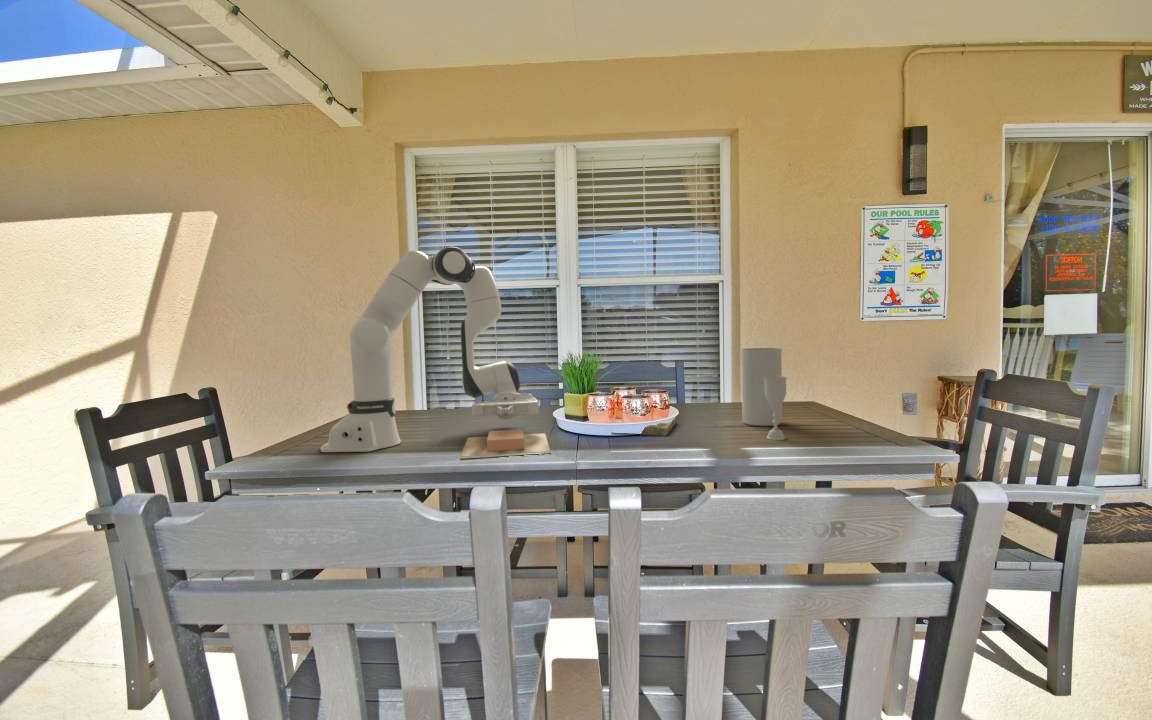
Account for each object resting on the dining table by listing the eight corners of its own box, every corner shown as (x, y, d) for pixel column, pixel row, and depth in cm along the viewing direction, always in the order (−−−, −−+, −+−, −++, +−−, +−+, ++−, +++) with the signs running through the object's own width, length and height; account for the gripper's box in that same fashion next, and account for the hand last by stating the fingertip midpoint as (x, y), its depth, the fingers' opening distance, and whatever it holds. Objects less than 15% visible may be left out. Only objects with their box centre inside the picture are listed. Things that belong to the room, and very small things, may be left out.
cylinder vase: (738, 420, 177) (737, 348, 175) (775, 419, 176) (775, 347, 174) (747, 427, 165) (746, 350, 163) (787, 426, 163) (786, 349, 162)
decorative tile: (676, 424, 175) (675, 414, 175) (667, 437, 156) (666, 425, 156) (623, 423, 181) (623, 413, 181) (608, 435, 162) (608, 424, 162)
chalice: (761, 435, 152) (760, 375, 151) (785, 435, 150) (785, 375, 149) (765, 440, 145) (764, 378, 144) (790, 441, 143) (790, 377, 142)
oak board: (460, 460, 134) (459, 456, 134) (468, 440, 158) (468, 437, 158) (550, 454, 137) (550, 451, 137) (545, 436, 160) (545, 433, 160)
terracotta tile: (489, 441, 151) (487, 452, 138) (489, 431, 151) (486, 440, 138) (523, 439, 152) (524, 449, 139) (522, 429, 152) (523, 438, 139)
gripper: (472, 396, 161) (468, 402, 148) (537, 393, 164) (538, 399, 150) (473, 416, 162) (469, 424, 148) (537, 412, 164) (539, 420, 150)
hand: (505, 411), depth 149 cm, fingers closed
